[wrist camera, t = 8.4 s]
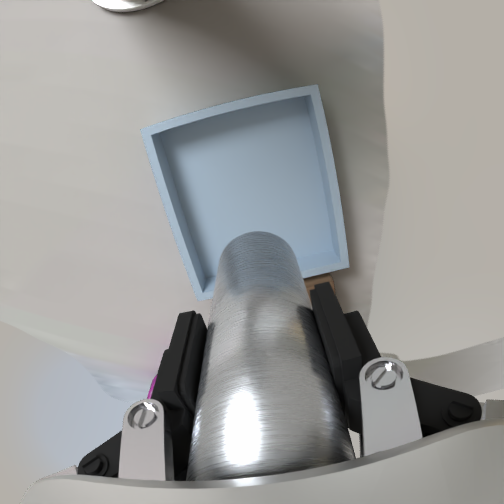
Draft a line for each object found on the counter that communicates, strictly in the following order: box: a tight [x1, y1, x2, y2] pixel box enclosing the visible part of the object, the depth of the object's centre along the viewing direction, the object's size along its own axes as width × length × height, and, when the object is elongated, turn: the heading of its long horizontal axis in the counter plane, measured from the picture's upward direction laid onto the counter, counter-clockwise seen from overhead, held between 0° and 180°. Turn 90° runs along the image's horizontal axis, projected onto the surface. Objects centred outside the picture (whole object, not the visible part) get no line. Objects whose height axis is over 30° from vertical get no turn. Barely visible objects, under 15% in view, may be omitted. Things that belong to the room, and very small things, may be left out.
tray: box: [140, 84, 349, 301], centre depth 30 cm, size 18×16×4 cm
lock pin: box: [186, 231, 356, 481], centre depth 11 cm, size 4×4×12 cm
